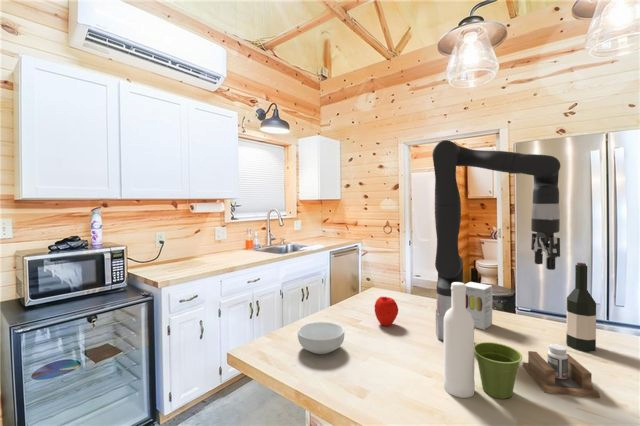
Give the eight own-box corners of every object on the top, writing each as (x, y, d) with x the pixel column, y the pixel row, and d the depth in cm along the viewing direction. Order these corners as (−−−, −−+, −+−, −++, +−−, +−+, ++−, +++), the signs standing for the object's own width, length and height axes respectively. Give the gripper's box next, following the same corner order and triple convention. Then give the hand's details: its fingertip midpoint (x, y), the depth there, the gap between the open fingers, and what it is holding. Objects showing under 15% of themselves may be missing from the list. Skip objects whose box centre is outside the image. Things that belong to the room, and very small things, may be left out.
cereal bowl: (351, 343, 117) (350, 325, 116) (334, 364, 102) (333, 343, 101) (310, 336, 124) (310, 318, 124) (289, 355, 109) (288, 335, 108)
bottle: (438, 382, 91) (438, 280, 90) (464, 380, 91) (464, 279, 90) (452, 399, 83) (452, 288, 82) (480, 397, 83) (480, 286, 82)
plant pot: (466, 378, 92) (466, 341, 92) (508, 380, 91) (508, 342, 91) (483, 404, 81) (483, 361, 80) (531, 406, 79) (532, 363, 79)
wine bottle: (602, 353, 106) (603, 265, 105) (574, 351, 108) (575, 265, 107) (586, 342, 114) (587, 261, 113) (560, 340, 116) (561, 260, 115)
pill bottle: (563, 372, 92) (564, 344, 92) (570, 380, 88) (571, 351, 87) (544, 369, 94) (545, 342, 93) (550, 377, 89) (551, 349, 89)
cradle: (544, 392, 85) (544, 372, 85) (522, 365, 99) (522, 348, 99) (599, 397, 82) (599, 377, 82) (569, 369, 96) (569, 352, 96)
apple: (401, 322, 136) (400, 295, 135) (393, 330, 127) (393, 301, 127) (379, 318, 141) (379, 292, 141) (371, 326, 133) (370, 297, 132)
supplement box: (461, 323, 133) (460, 285, 133) (469, 318, 140) (469, 281, 139) (484, 330, 126) (484, 289, 126) (493, 324, 133) (493, 285, 132)
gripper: (523, 216, 110) (522, 262, 110) (542, 218, 96) (541, 270, 96) (547, 216, 108) (547, 262, 109) (570, 218, 94) (569, 272, 95)
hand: (544, 266), depth 102 cm, fingers open, 8 cm apart
